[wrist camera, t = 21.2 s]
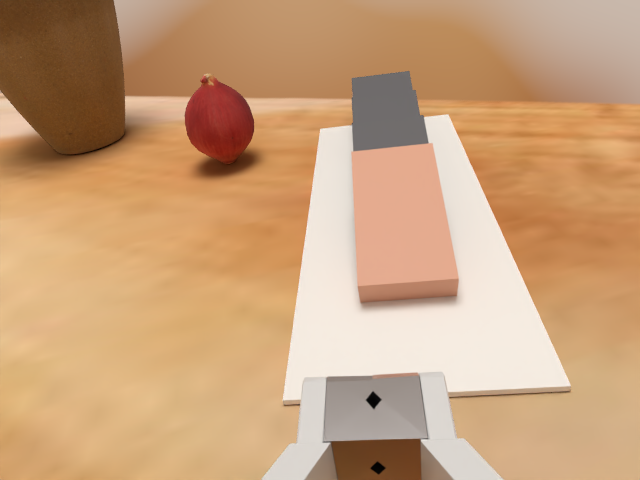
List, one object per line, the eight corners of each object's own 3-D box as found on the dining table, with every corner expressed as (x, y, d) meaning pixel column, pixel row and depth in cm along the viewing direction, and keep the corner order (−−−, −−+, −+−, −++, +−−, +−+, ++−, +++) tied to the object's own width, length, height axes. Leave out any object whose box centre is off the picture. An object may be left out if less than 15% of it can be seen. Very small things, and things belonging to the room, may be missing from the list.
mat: (283, 404, 22) (282, 400, 22) (320, 131, 49) (320, 128, 49) (570, 391, 21) (571, 386, 21) (448, 117, 48) (448, 114, 48)
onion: (197, 157, 48) (172, 71, 44) (257, 144, 49) (238, 58, 44) (198, 183, 43) (170, 89, 39) (265, 168, 44) (245, 74, 39)
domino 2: (356, 188, 34) (351, 97, 41) (358, 204, 36) (353, 113, 42) (431, 181, 34) (415, 89, 40) (431, 197, 35) (415, 106, 41)
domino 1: (356, 156, 39) (351, 78, 45) (357, 171, 40) (353, 93, 46) (422, 149, 38) (409, 71, 44) (422, 164, 39) (409, 86, 46)
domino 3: (357, 231, 30) (352, 123, 36) (359, 248, 31) (354, 140, 37) (444, 224, 29) (423, 115, 36) (443, 241, 31) (423, 133, 37)
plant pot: (172, 109, 62) (127, -39, 53) (133, 161, 49) (66, -22, 41) (56, 125, 63) (-7, -17, 55) (-11, 179, 51) (-106, 5, 42)
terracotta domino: (357, 286, 26) (351, 151, 32) (360, 302, 27) (353, 170, 33) (459, 278, 25) (432, 142, 31) (456, 295, 26) (431, 162, 33)
